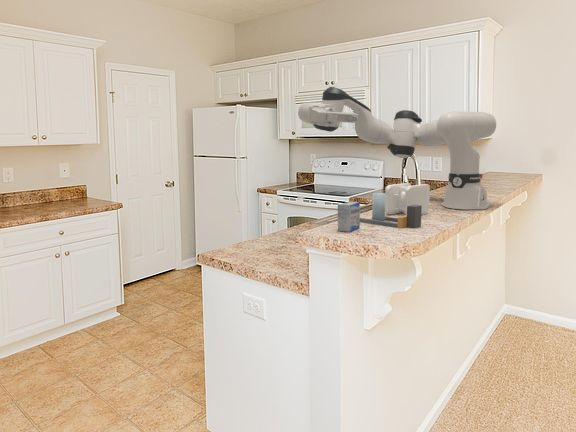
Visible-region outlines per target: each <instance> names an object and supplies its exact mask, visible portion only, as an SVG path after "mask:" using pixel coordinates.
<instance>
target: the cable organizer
mask: <svg viewBox="0 0 576 432" xmlns="http://www.w3.org/2000/svg"><path fill="white" fill-rule="evenodd" d="M430 192H431V187H430V185H429V184H428V183H427V184H426V183H421V184H414V185H412V184H411V183H408V182H404V183H403V182H402V183H395V184H393V183H392V184H388V185H387V186H386V187H385V189H384V193H385V214H389V215H397V213H401V214H402V213H404V214H405V215H407V206H410V205H421V206H422V210H421V216H423V215H426V214H427V213H428V212H429V210H430V202H431V201H430V197H431V195H430V194H431V193H430Z"/></svg>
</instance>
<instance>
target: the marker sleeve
mask: <svg viewBox="0 0 576 432" xmlns="http://www.w3.org/2000/svg"><path fill="white" fill-rule="evenodd" d="M371 203H372V204H371V205H372V207H371V209H372V213H371V219H372V220H379V221H386V220H385V216H386V212H385V192H373V193H372V202H371Z"/></svg>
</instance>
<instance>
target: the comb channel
mask: <svg viewBox="0 0 576 432" xmlns="http://www.w3.org/2000/svg"><path fill="white" fill-rule="evenodd" d="M421 210H422V206H421V205H410V206H407V215H406V214H405V215H401V216H397V217H394V216H386V215H385V221H379V220H372V218H366V217H365V218H363V217H360V223H363V222H364V223H365V224H371V225H377V226H383V227H391V228H398V229H404V228H411V229H416V228H420V227H422V215H421ZM364 223H363V224H364Z"/></svg>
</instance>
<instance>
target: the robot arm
mask: <svg viewBox="0 0 576 432" xmlns="http://www.w3.org/2000/svg"><path fill="white" fill-rule="evenodd" d="M321 99H322V100H321V103H318V102H304V103H302V104H300V106H299V107H298V111H297V115H298V119H299V120H300V121H302V122H304V123H306V124H310V125H313V127H314V128H315V129H316V130H320V131H325V132H328V133H329V132H330V133H331V132H334V131H336V130H338V129H339V127H340V123H352V124H354V131H355V134H356V135H357V137H358V138H359V139H360V140H362V141H365V142H366V143H371V144H378V145H382V144H383V145H387V146H386V148H387V149H388V150H389V151H390V153H391V154H392V155H393V156H394V157H397V158H401V159H406V158H410V157H412V156H413V155H414V153H415V150H416V148H415V147H416V142H417V143H418V144H419V145H421V146H424V147H436V146H442V145H445V144H446V145H447V147H448V149H449V155H450V158H449V159H450V161H449V163H450V167H449V169H450V171H449V173H448V178H447V179H448V182H449V183H448V184H446V186H445V190H444V197H443V202H441V203H440V205H441V206H443V207H445V208H446V209H447V208H448V209H454V210H487V209H489V208H490V207H492V206H493V202H489V201H487V199H488V196H487V195H488V193H487V190H486V189H485V188H484V187H483V185H482V184H481V180H482V179H483V177H484V176H483V173H480V158H481V157H480V153H479V152H478V150H476V149H474V148H473V146H472V141H475V140H481V139H484V138H489V137H491V136H492V135H493V134H495V131H496V128H497V120H496V117H495V116H494V115H493V114H491V113H487V112H484V111H451V112H446V113H443V114H441V115H440V117H439V118H438V119H435V120H432V121H429V122H425V123H422V122H423V120H422V118H421V117H420V116H419V115H418V113H416V111H413V110H409V109H402V110H399V111H396V113H395V116H394V119H393V121H394V122H393V127H392V126H391V125H390V124H389V123H387V122H385V121H383V120H381V119H377V118H375V116H374V115H373V113H372V110H371V109H370V108H369V106H367V105H365V104H364V103H362V102H361V101H359V100H358V99H356V98H354V97H352V96H351V95H349V94H348V93H347V92H346V91H344V90H343V89H341V88H340V87H336V86H329V87H328V88H326V89H325V90H324V91H323V93H322V98H321ZM344 106H346V107H347V108H349V109H351V110H352V111H353V112H346V111H345V112H344V111H343V110H344V108H345V107H344Z"/></svg>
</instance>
